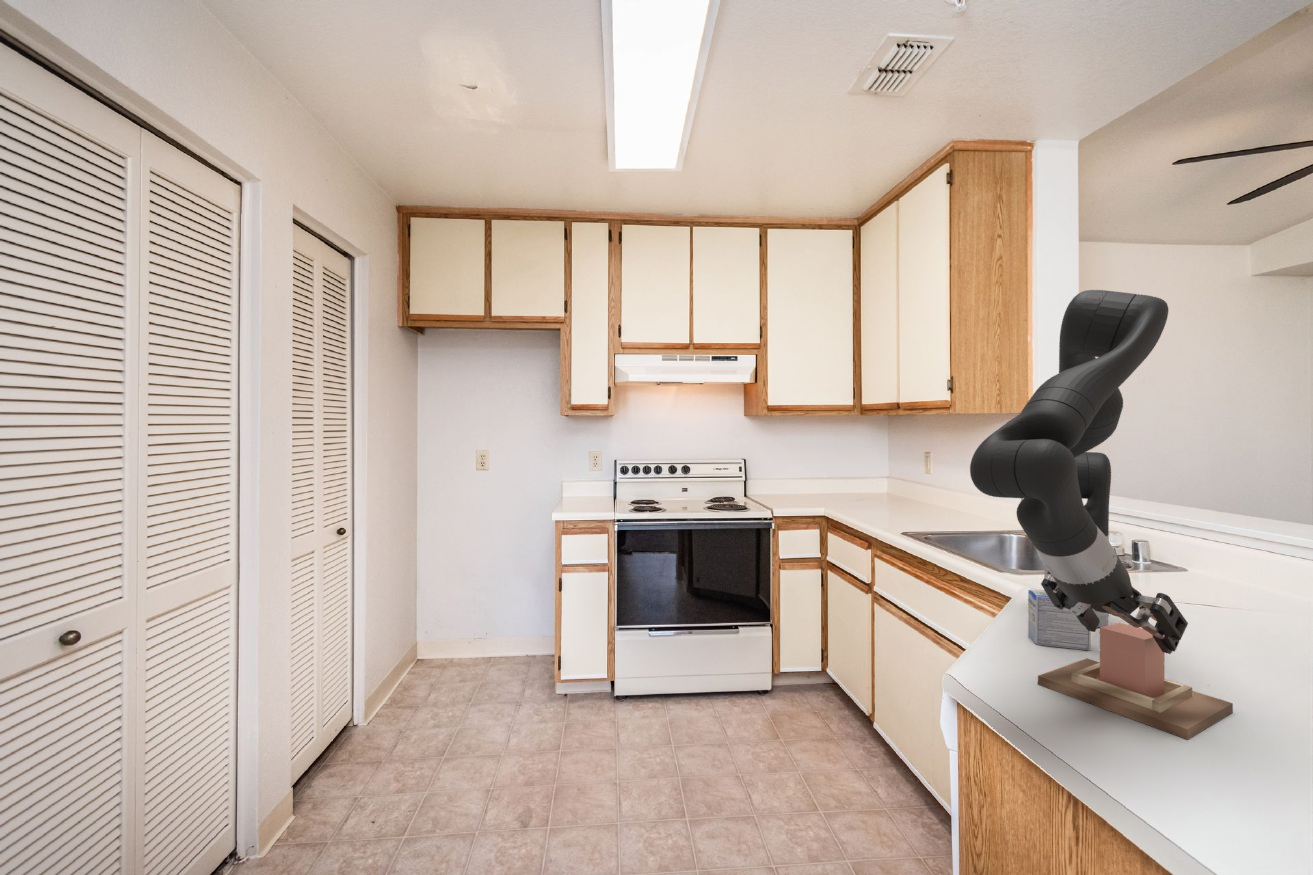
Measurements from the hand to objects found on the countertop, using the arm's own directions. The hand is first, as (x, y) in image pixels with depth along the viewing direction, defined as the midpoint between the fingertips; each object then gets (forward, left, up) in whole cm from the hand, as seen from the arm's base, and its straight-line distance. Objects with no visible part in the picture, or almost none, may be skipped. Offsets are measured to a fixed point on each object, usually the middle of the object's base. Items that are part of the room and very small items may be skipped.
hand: (1130, 636), depth 73 cm
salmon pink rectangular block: (0, 0, -7) cm, 7 cm away
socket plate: (0, 0, -8) cm, 8 cm away
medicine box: (-15, +14, -9) cm, 22 cm away
